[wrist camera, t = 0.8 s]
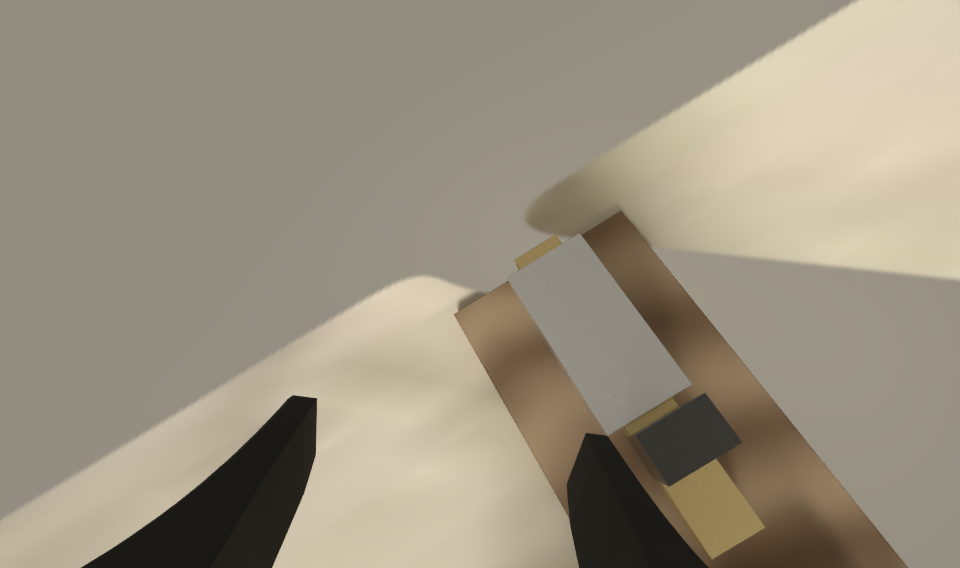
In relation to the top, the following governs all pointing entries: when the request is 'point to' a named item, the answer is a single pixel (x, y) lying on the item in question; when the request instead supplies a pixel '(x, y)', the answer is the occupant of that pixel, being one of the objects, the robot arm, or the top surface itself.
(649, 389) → the sleeve
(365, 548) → the top surface
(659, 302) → the base board
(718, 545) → the inner sliding bolt
